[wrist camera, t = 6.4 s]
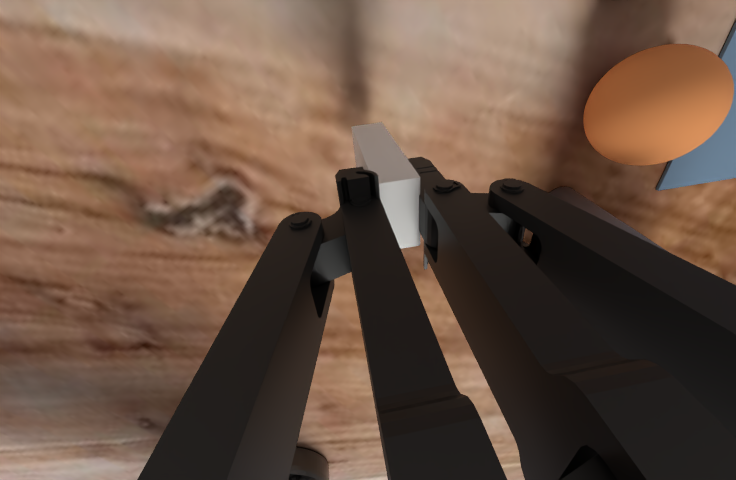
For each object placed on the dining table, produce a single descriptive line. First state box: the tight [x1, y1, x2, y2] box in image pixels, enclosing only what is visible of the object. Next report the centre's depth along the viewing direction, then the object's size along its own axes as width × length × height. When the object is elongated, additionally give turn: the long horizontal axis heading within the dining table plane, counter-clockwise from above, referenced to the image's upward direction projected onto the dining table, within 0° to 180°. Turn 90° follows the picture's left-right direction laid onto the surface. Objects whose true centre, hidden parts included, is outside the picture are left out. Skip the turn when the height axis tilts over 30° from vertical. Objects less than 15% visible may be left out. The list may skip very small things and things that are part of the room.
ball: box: [583, 44, 734, 166], centre depth 16 cm, size 6×6×6 cm
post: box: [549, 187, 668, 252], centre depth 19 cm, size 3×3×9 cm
